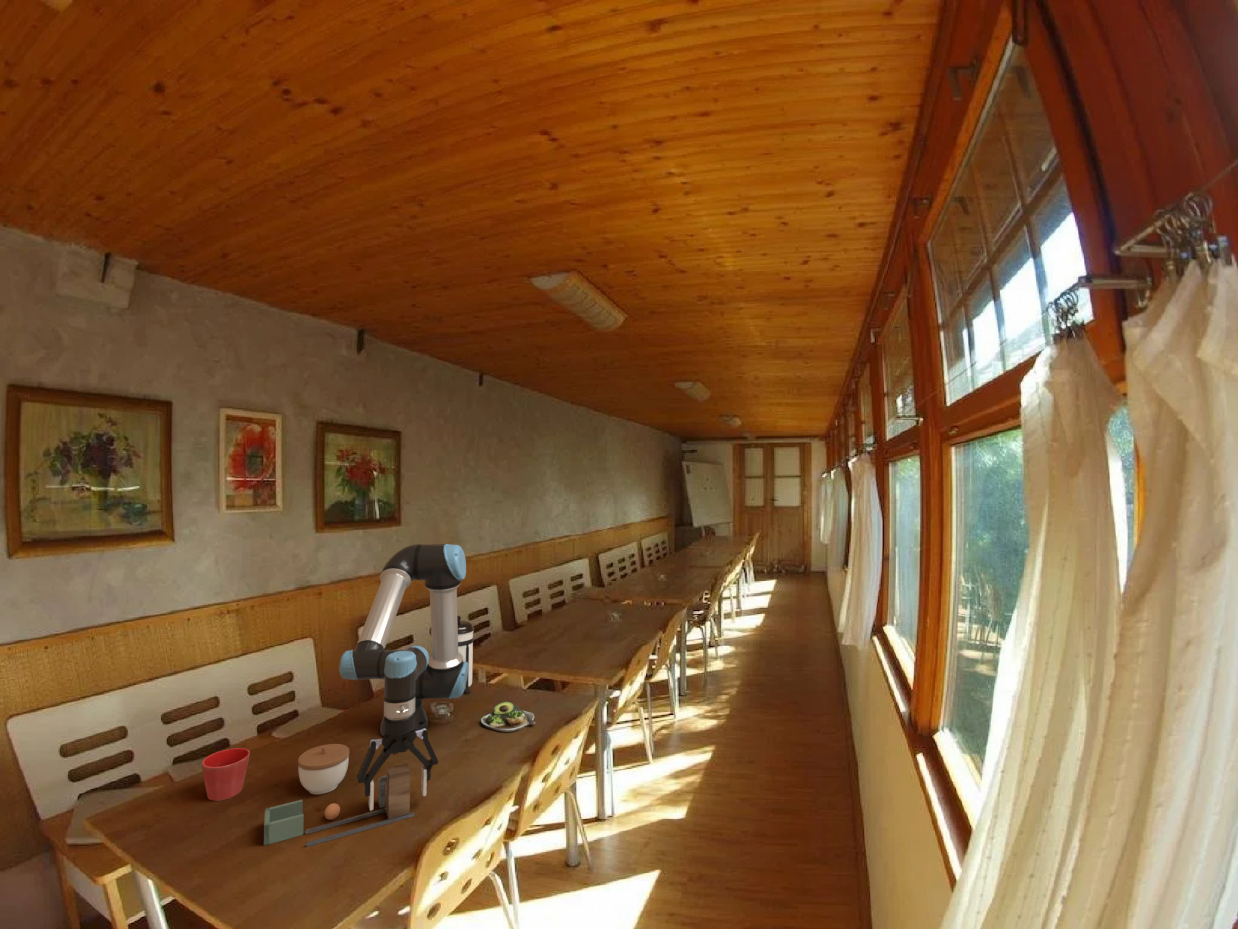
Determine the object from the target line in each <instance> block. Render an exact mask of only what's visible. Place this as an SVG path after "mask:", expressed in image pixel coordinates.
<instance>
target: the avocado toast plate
mask: <svg viewBox="0 0 1238 929" xmlns="http://www.w3.org/2000/svg"><path fill="white" fill-rule="evenodd" d="M534 720H535V714H534V713H533V712H530V711H526V710H523V709H522V708H520V707H519V706H518V705H515V704H514V703H512V702H510V701H503V702H500V703H497V704H496V705H495V706H494V708H493V712H490V713H488V714H487V715H484V716H483V717H481V718H480V724H481V726H482V727H484V728H486V729H489V730H493V731H498V732H504V733H513V732H518V731H520V730H522V729H523V728H526V727H528V726H530V725H536V722H535V721H534ZM505 726H511V728H501V727H505ZM525 726H526V727H525ZM517 730H518V731H517Z"/></svg>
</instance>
